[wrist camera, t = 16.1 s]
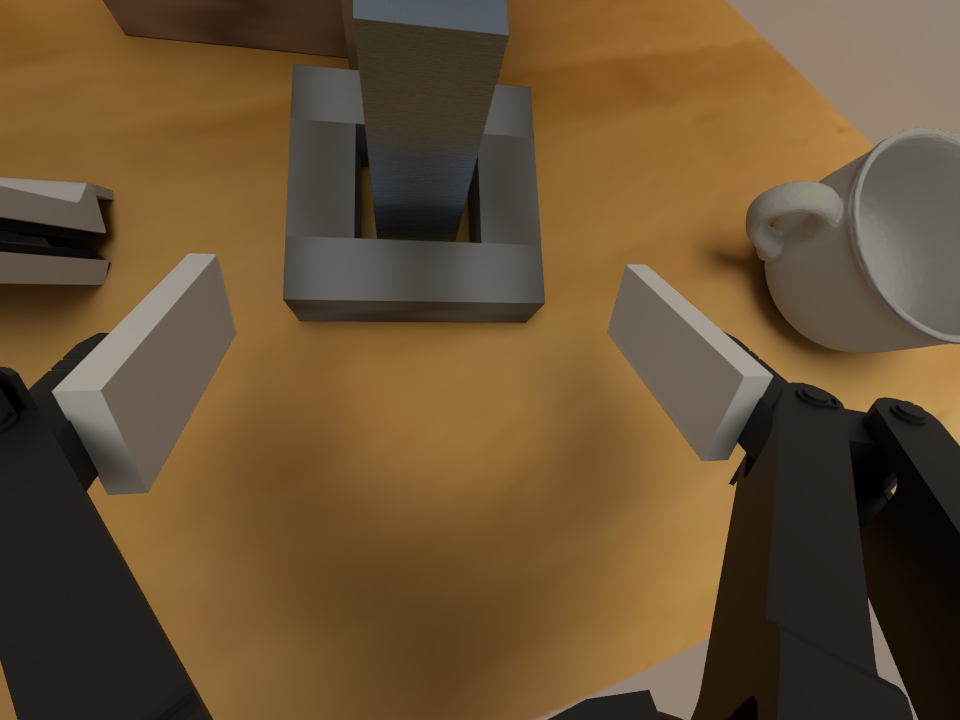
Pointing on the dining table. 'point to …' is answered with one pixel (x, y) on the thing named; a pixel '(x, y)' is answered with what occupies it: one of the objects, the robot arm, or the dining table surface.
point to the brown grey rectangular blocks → (337, 179)
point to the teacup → (869, 247)
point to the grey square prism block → (426, 106)
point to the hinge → (50, 231)
